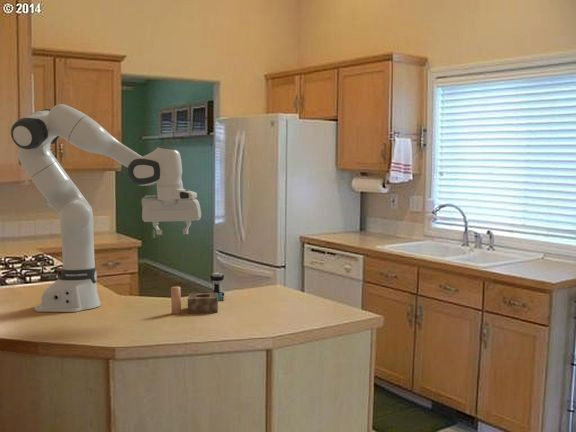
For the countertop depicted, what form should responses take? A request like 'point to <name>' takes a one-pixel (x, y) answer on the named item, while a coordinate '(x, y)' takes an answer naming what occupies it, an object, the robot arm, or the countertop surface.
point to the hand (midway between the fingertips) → (172, 234)
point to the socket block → (203, 303)
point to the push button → (218, 284)
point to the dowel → (176, 300)
